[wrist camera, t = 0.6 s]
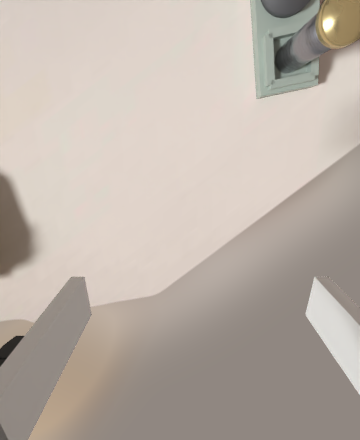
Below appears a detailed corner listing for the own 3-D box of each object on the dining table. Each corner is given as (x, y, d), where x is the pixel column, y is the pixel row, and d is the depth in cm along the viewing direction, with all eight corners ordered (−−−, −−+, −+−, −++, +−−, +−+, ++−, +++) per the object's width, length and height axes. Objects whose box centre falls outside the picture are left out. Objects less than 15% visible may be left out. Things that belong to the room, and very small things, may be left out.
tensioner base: (247, -39, 29) (256, -64, 25) (312, -56, 28) (330, -84, 25) (256, 98, 34) (265, 94, 31) (310, 87, 34) (325, 81, 30)
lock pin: (270, 42, 30) (323, -16, 19) (305, 33, 30) (382, -31, 18) (272, 80, 32) (322, 49, 20) (305, 73, 31) (376, 37, 20)
